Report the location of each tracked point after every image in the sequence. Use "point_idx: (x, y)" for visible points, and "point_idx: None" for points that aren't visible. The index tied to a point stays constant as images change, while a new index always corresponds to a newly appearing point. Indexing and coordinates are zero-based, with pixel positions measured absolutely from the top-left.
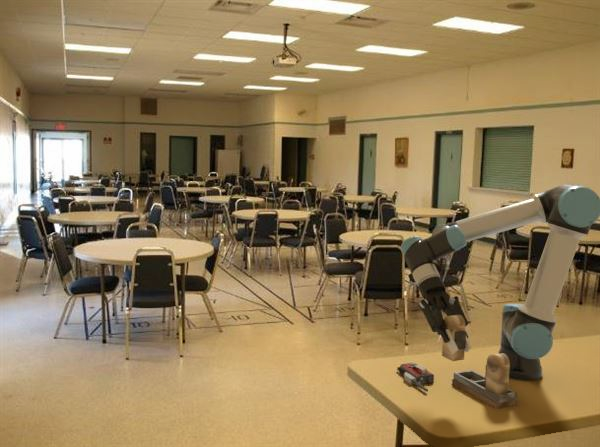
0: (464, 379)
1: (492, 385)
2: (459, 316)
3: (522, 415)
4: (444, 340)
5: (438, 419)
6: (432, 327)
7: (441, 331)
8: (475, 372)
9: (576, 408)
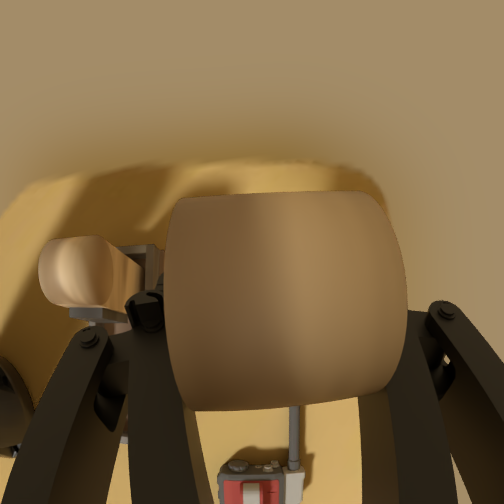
0: None
1: (132, 283)
2: (218, 236)
3: (139, 204)
4: None
5: None
6: (450, 363)
7: None
8: None
9: (32, 207)
